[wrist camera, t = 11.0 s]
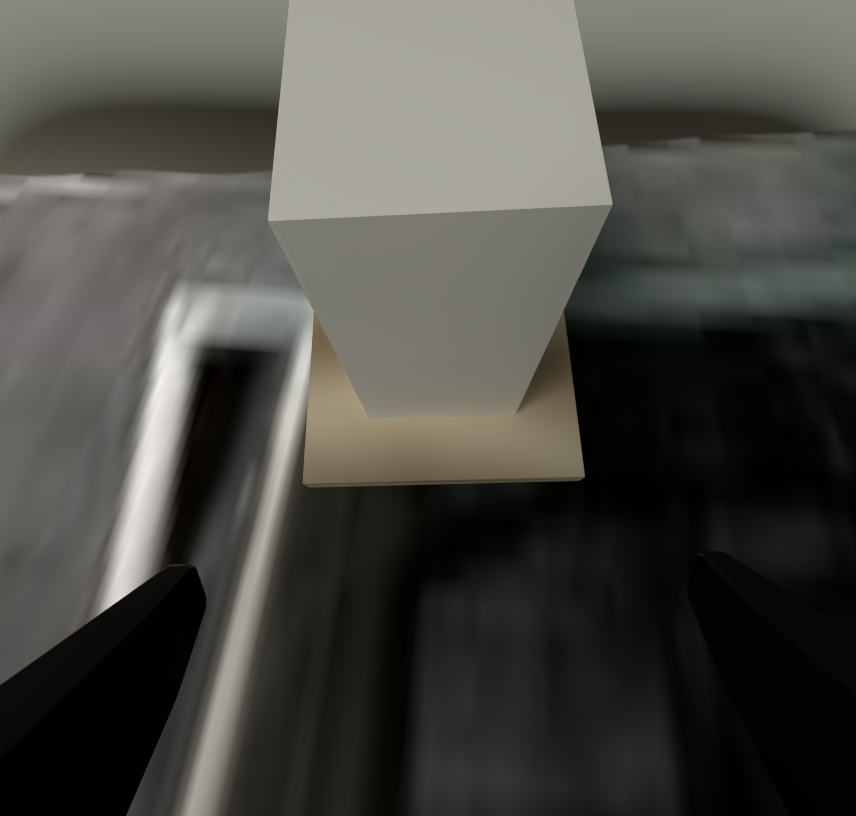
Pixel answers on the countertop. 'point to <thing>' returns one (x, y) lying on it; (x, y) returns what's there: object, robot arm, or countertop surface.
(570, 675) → the countertop surface
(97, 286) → the countertop surface
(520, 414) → the beige board with block
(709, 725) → the countertop surface
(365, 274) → the tall pale rectangular prism
